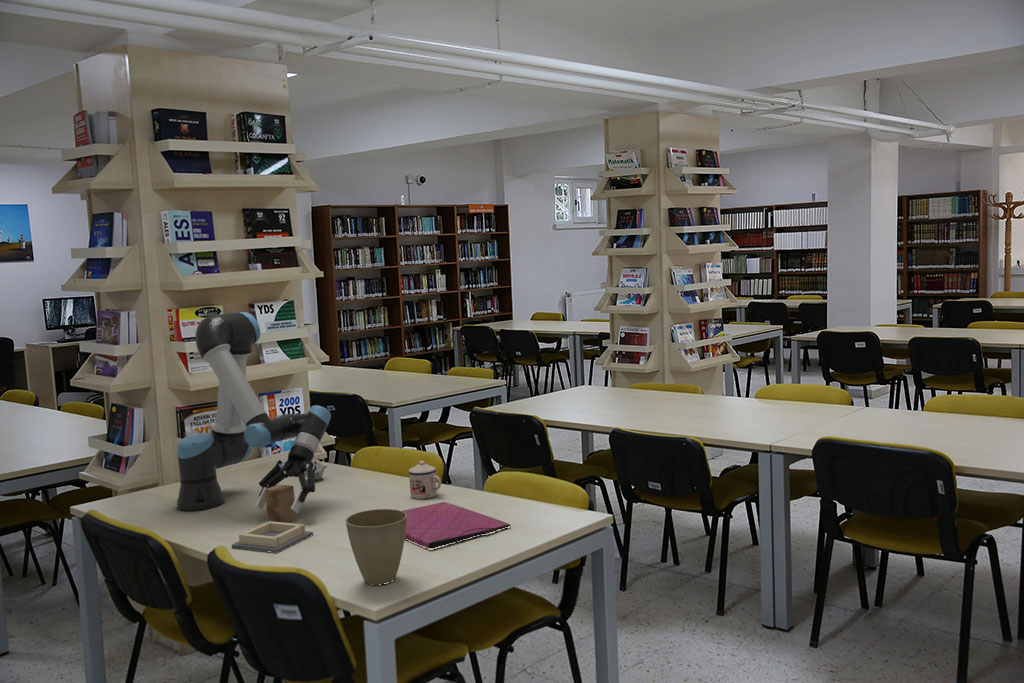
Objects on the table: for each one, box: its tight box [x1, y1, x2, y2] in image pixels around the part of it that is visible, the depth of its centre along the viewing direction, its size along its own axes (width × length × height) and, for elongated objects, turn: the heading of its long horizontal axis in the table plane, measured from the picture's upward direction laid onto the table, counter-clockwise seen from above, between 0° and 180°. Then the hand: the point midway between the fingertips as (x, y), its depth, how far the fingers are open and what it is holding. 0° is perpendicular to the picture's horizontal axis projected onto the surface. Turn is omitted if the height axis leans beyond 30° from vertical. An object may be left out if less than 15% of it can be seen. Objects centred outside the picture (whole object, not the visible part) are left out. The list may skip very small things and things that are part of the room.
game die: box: [304, 457, 328, 481], centre depth 321 cm, size 9×8×10 cm
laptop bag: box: [402, 501, 511, 548], centre depth 256 cm, size 40×4×27 cm
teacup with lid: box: [408, 460, 442, 500], centre depth 290 cm, size 12×9×12 cm
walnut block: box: [265, 484, 297, 523], centre depth 270 cm, size 6×6×11 cm
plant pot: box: [345, 508, 407, 586], centre depth 215 cm, size 15×15×16 cm
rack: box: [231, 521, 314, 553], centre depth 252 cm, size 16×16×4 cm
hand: (276, 509), depth 268 cm, fingers open, 13 cm apart
